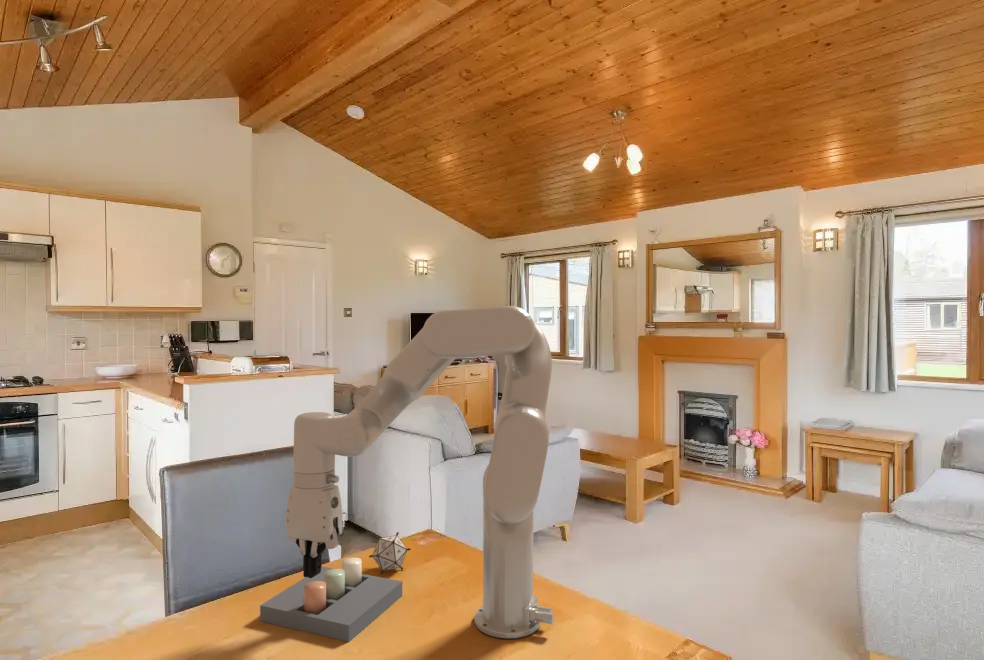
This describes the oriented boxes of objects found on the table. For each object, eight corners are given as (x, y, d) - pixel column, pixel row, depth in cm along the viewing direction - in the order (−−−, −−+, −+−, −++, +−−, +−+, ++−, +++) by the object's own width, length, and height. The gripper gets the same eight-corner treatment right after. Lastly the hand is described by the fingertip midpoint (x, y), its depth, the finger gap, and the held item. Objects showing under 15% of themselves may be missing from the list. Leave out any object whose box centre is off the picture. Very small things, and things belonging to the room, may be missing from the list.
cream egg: (365, 582, 126) (365, 559, 126) (354, 590, 122) (354, 566, 122) (349, 579, 127) (349, 556, 127) (338, 587, 123) (338, 563, 123)
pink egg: (330, 608, 115) (330, 582, 114) (317, 618, 111) (317, 591, 111) (313, 605, 116) (313, 579, 116) (299, 614, 112) (299, 588, 112)
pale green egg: (348, 595, 120) (348, 570, 120) (336, 604, 116) (336, 578, 116) (332, 591, 122) (332, 567, 121) (319, 600, 118) (319, 575, 118)
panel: (402, 595, 124) (402, 581, 124) (348, 641, 107) (348, 625, 107) (322, 579, 132) (322, 566, 131) (260, 620, 114) (260, 605, 114)
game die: (396, 588, 136) (405, 563, 130) (361, 574, 136) (369, 549, 130) (408, 555, 143) (418, 531, 138) (375, 543, 143) (383, 517, 138)
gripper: (359, 478, 114) (357, 574, 114) (295, 469, 119) (293, 560, 119) (335, 489, 107) (333, 590, 107) (268, 478, 112) (266, 575, 112)
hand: (312, 574), depth 113 cm, fingers closed
